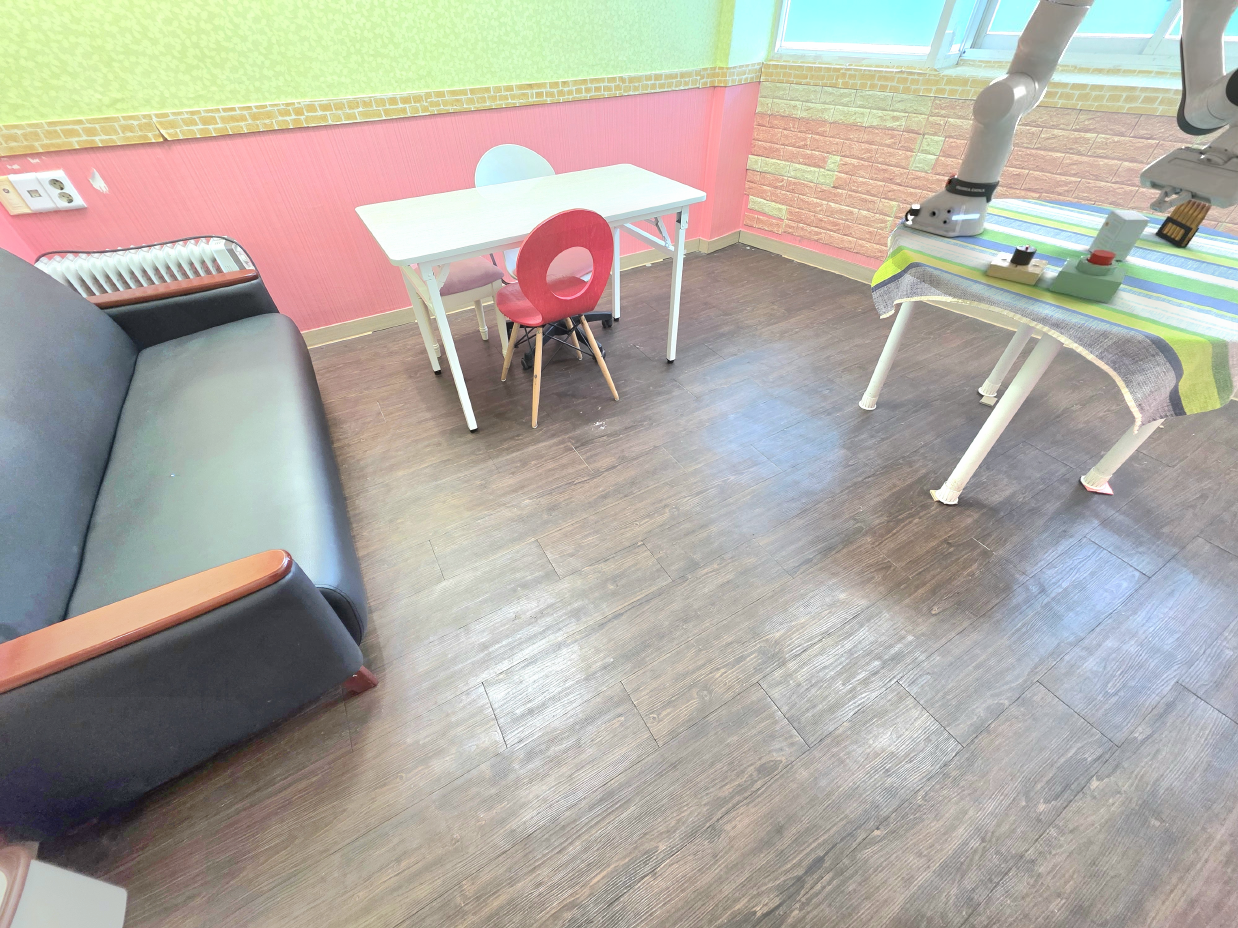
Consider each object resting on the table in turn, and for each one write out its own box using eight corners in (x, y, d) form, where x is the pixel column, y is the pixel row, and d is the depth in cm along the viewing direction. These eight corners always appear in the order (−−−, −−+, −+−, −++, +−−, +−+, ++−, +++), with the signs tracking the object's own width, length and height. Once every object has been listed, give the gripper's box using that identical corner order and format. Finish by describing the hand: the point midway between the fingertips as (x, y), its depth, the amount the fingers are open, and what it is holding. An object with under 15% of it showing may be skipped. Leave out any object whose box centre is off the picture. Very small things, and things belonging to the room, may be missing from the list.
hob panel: (985, 275, 131) (991, 263, 129) (995, 263, 137) (1001, 251, 134) (1033, 285, 126) (1040, 273, 124) (1042, 272, 131) (1049, 260, 129)
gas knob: (1028, 266, 127) (1036, 251, 124) (1008, 263, 129) (1016, 248, 126) (1030, 261, 129) (1038, 246, 127) (1011, 257, 131) (1018, 243, 129)
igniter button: (1085, 264, 118) (1091, 254, 117) (1088, 258, 121) (1094, 248, 119) (1107, 268, 116) (1114, 258, 115) (1111, 262, 118) (1117, 252, 117)
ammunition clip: (1154, 234, 146) (1184, 189, 138) (1161, 234, 146) (1192, 189, 137) (1178, 247, 138) (1212, 201, 130) (1186, 247, 138) (1220, 201, 130)
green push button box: (1048, 290, 123) (1064, 262, 119) (1057, 277, 129) (1073, 249, 124) (1108, 303, 117) (1127, 274, 113) (1114, 288, 122) (1133, 260, 118)
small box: (1124, 261, 133) (1151, 220, 126) (1101, 260, 134) (1126, 219, 127) (1109, 250, 139) (1135, 210, 132) (1087, 249, 140) (1110, 209, 133)
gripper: (1178, 134, 111) (1112, 187, 117) (1282, 154, 96) (1200, 213, 102) (1181, 155, 115) (1116, 205, 120) (1281, 178, 100) (1202, 233, 106)
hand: (1155, 209), depth 111 cm, fingers closed
